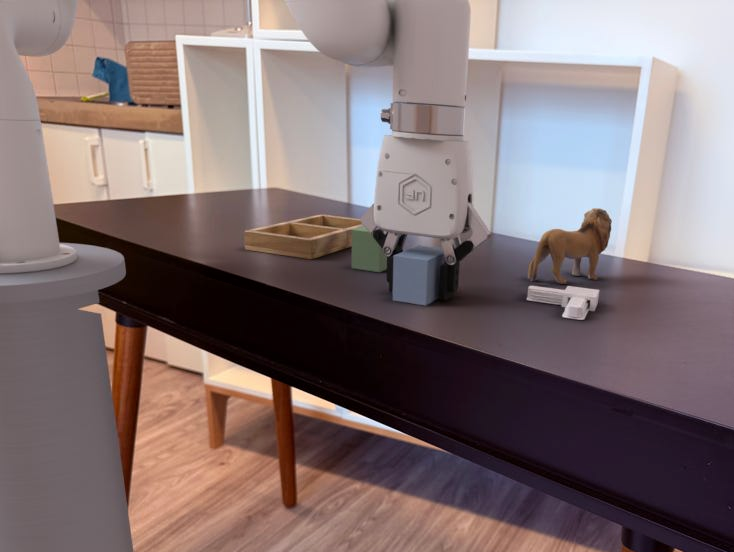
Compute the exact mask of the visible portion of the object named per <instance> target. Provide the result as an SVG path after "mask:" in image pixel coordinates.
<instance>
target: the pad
mask: <svg viewBox="0 0 734 552" xmlns="http://www.w3.org/2000/svg"><path fill="white" fill-rule="evenodd" d="M351 269H354V270H360V271H367V272H374V273H381V272H383V271H387V256H385V255H384V254H383V249H382V248H381V247H380V245H379V244H378V243H377V242H376V240H375V239H374V238H373V235H372V234H371V233H370V232H369V231H368V230H367V229H366V228H365V227H364V226H363V227H359V228H356V229H352V246H351Z"/></svg>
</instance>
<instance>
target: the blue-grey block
mask: <svg viewBox="0 0 734 552" xmlns="http://www.w3.org/2000/svg"><path fill="white" fill-rule="evenodd" d="M444 259H445V257H444V253H443V249H442V247H437V246H436V247H435V246H429V245H428V246H427V245H421V244H419V245H417V246H413V247H411V248H408V249H406V250H403V252H401V253H399V254H396V255H394V258H393V292H392V302H393V301H394V302H400V303H407V304H413V305H418V306H419V305H420V306H426V307H427V306H428V305H430V304H431V303H433V302H435V301H436V300H438V299H440V298H439V281H440V266H441V265H442V264H444Z"/></svg>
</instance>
